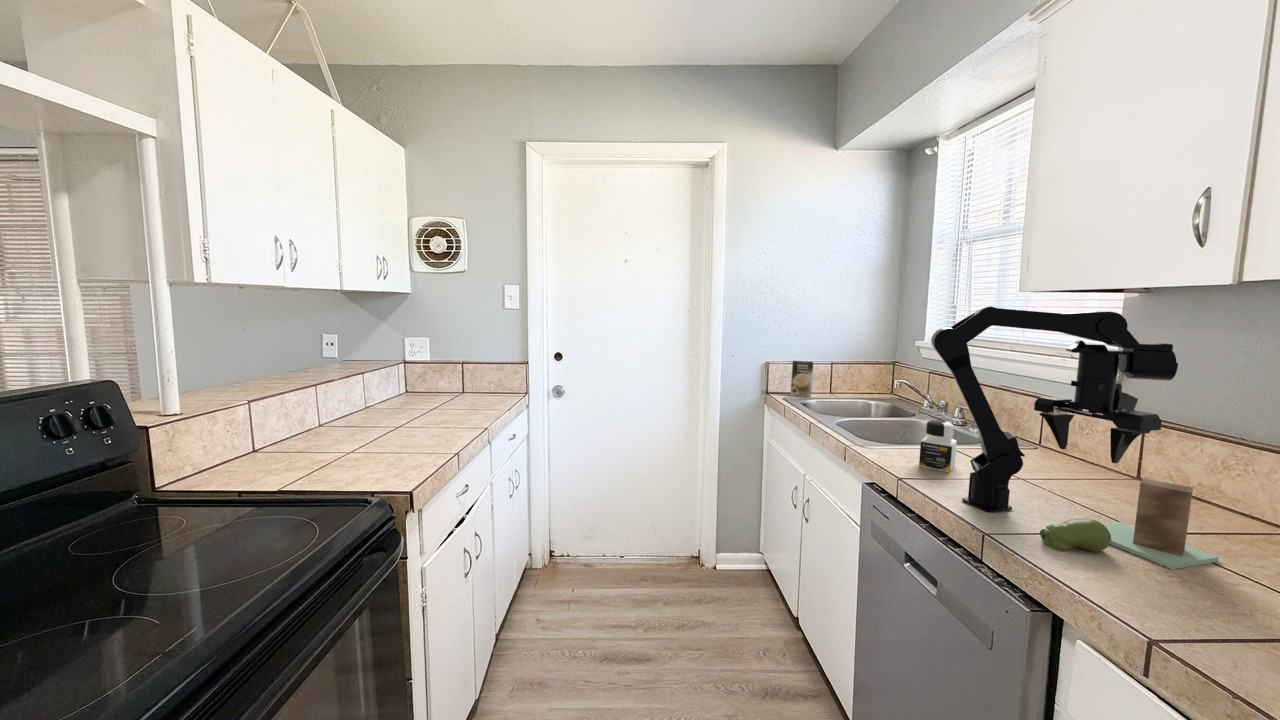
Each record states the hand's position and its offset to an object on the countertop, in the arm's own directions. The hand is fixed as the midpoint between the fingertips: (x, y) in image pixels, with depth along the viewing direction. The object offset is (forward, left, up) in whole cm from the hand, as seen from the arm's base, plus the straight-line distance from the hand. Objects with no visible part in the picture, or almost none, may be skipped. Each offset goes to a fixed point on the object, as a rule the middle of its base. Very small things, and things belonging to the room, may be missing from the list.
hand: (1087, 455), depth 99 cm
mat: (+11, -1, -13) cm, 17 cm away
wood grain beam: (+13, -1, -12) cm, 18 cm away
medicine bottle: (-34, -1, -13) cm, 36 cm away
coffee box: (-133, +21, -13) cm, 136 cm away
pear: (+9, -14, -13) cm, 21 cm away
